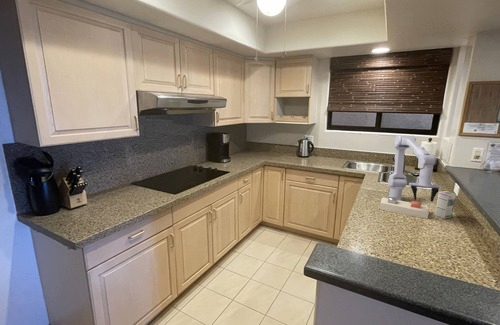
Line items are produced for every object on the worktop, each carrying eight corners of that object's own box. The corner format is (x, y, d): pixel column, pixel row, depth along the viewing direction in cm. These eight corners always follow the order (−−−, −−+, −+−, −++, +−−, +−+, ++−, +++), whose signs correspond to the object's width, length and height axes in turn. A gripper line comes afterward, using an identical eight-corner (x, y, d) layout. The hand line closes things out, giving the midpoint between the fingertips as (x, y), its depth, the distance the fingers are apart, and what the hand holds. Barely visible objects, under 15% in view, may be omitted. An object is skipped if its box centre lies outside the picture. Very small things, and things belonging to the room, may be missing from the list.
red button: (409, 207, 149) (410, 200, 148) (419, 209, 146) (421, 202, 145) (409, 210, 145) (411, 203, 144) (420, 212, 142) (421, 205, 141)
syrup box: (444, 218, 138) (449, 194, 135) (434, 214, 144) (438, 191, 141) (451, 217, 140) (457, 193, 137) (441, 213, 145) (446, 190, 142)
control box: (381, 203, 160) (382, 197, 159) (425, 211, 148) (427, 205, 147) (379, 209, 150) (380, 202, 149) (427, 218, 138) (428, 212, 137)
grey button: (387, 203, 155) (388, 196, 154) (396, 204, 152) (397, 198, 151) (386, 205, 151) (387, 198, 150) (396, 207, 148) (397, 200, 147)
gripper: (411, 176, 135) (408, 200, 137) (443, 178, 129) (441, 203, 130) (409, 174, 141) (407, 197, 143) (440, 177, 135) (437, 201, 136)
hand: (423, 200), depth 137 cm, fingers open, 7 cm apart
